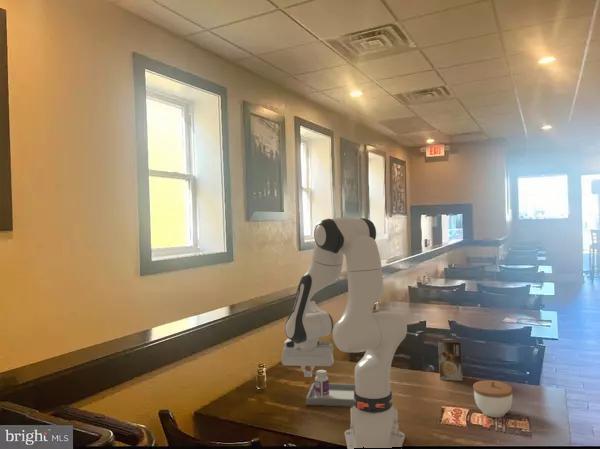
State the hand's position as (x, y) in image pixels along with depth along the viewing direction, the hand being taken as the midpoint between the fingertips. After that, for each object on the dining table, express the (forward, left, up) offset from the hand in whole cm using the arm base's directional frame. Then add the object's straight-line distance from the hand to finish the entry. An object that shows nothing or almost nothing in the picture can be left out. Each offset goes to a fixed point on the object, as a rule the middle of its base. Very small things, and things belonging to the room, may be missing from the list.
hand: (308, 376), depth 181 cm
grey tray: (0, -11, -8) cm, 13 cm away
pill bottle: (0, -5, -8) cm, 9 cm away
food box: (+25, -56, -8) cm, 62 cm away
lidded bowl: (-8, -66, -8) cm, 67 cm away
